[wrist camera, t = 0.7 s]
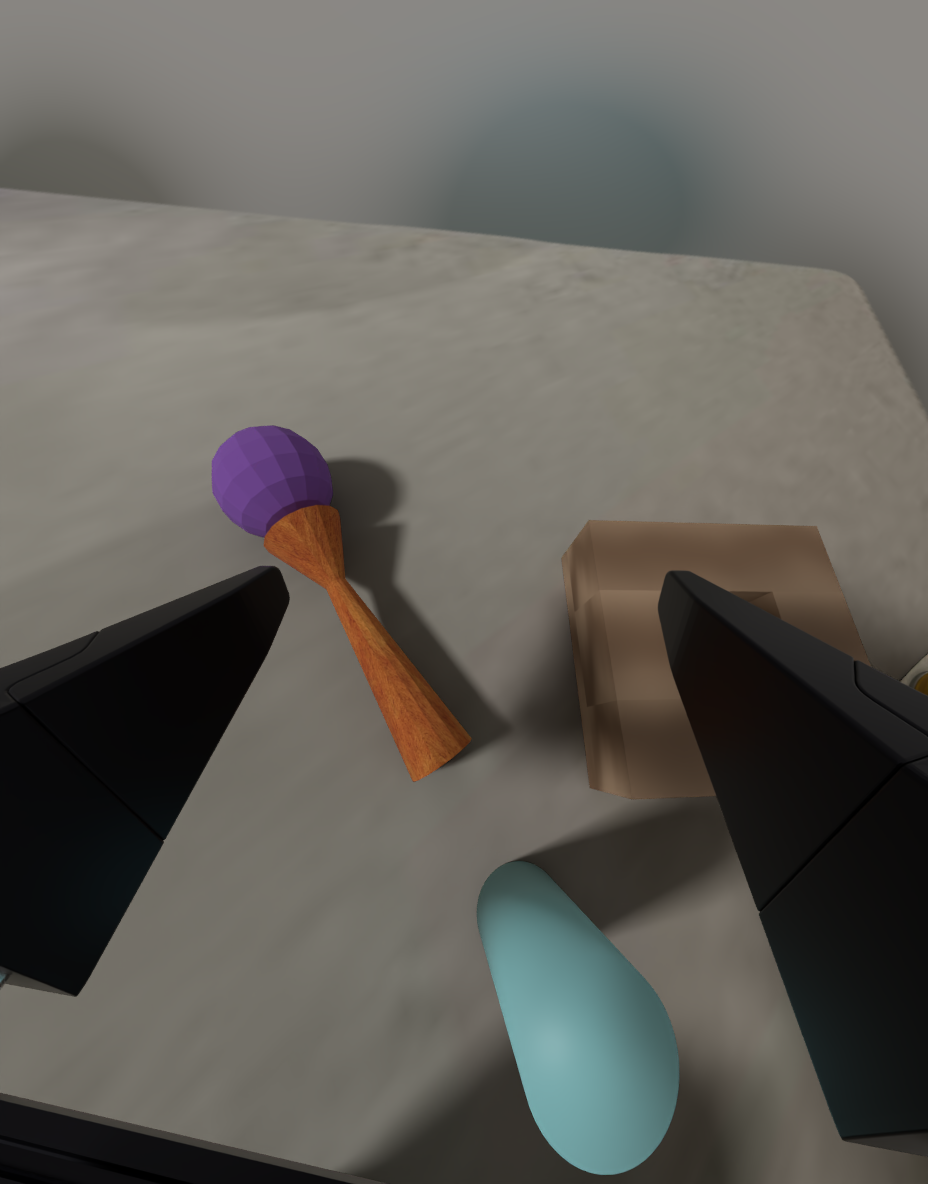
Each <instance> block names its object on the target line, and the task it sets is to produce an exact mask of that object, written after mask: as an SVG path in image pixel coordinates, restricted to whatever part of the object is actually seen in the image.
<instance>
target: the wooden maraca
mask: <svg viewBox="0 0 928 1184" xmlns="http://www.w3.org/2000/svg"><path fill="white" fill-rule="evenodd" d="M212 490H213V494H214V496H215V498H216V500H217V501H218V503H219V505H220V507H221V508H222V510H223V512H224V513H225V514H226V515H227V516H228V517H229V518H230V520H231V521H232V522H234V523H235V524H237V525H238V526H239V527H241V528H242V529H244V530H245V531H247V532H248V533H250V534H254V535H257V536H260V537H264V538H265V539H264V547H265V548H266V549H267V550H268V552H270V553H271V554H273V555H274V556H276V557H277V558H279V559H280V560H282V561H283V562H285V563H287V564H288V565H290V566H291V567H293V568H294V569H296V570H297V571H299V572H300V573H302V574H304V575H305V576H307V577H308V578H310V579H311V580H313V581H314V582H316V583H318V584H319V585H321V586H322V587H324V588H325V589H327V592H328V594H329V596H330V598H331V600H332V603H333V605H334V607H335V609H336V612H337V614H338V616H339V618H340V620H341V623H342V625H343V627H344V629H345V632H346V634H347V636H348V638H349V640H350V643H351V645H352V647H353V649H354V652H355V654H356V656H357V658H358V660H359V663H360V665H361V667H362V669H363V672H364V674H365V676H366V678H367V680H368V683H369V685H370V687H371V689H372V692H373V694H374V696H375V698H376V700H377V703H378V705H379V707H380V709H381V712H382V714H383V716H384V718H385V720H386V723H387V725H388V727H389V729H390V732H391V734H392V736H393V738H394V740H395V743H396V745H397V747H398V749H399V752H400V754H401V756H402V758H403V760H404V763H405V765H406V767H407V769H408V772H409V774H410V776H411V778H412V780H413V782H414V781H417V780H420V779H421V778H423V777H425V776H427V775H429V774H430V773H432V772H433V771H435V770H436V769H438V768H439V767H441V766H442V765H443V764H445V763H446V762H448V761H449V760H450V759H452V758H453V757H454V756H455V755H456V754H458V753H459V752H460V751H461V750H462V749H464V748H465V747H466V746H467V745H468V744H469V743H470V741H471V739H472V738H471V737H470V736H469V735H468V733H467V732H466V731H465V730H464V728H463V727H462V726H461V725H460V723H459V722H458V721H457V719H456V718H455V717H454V716H453V714H452V713H451V712H450V711H449V709H448V708H447V707H446V706H445V704H444V703H443V702H442V700H441V699H440V698H439V697H438V695H437V694H436V693H435V692H434V690H433V689H432V688H431V687H430V685H429V684H428V683H427V682H426V680H425V679H424V678H423V676H422V675H421V674H420V673H419V671H418V670H417V669H416V668H415V666H414V665H413V664H412V663H411V661H410V660H409V659H408V657H407V656H406V655H405V654H404V652H403V651H402V650H401V649H400V647H399V646H398V645H397V644H396V642H395V641H394V640H393V638H392V637H391V636H390V635H389V633H388V632H387V631H386V630H385V628H384V627H383V626H382V625H381V623H380V622H379V621H378V620H377V618H376V617H375V616H374V614H373V613H372V612H371V611H370V609H369V608H368V607H367V606H366V604H365V603H364V602H363V601H362V599H361V598H360V597H359V595H358V594H357V593H356V592H355V590H354V589H353V588H352V587H351V585H350V584H349V583H348V582H347V580H346V579H345V569H344V557H343V545H342V534H341V522H340V516H339V512H338V510H337V509H335V508H333V507H331V506H329V505H330V502H331V499H332V496H333V489H332V480H331V475H330V472H329V468H328V465H327V463H326V462H325V460H324V459H323V457H322V456H321V454H320V452H319V451H318V449H317V448H316V447H314V446H313V445H312V444H311V443H309V442H308V441H307V440H306V439H304V438H303V437H301V436H299V435H298V434H296V433H295V432H293V431H291V430H290V429H286V428H281V427H277V426H259V427H249V428H246V429H243V430H241V431H238V432H236V433H235V434H234V435H233V436H231V437H230V438H229V439H228V440H227V441H225V442H224V443H223V444H222V445H221V446H220V447H219V449H218V451H217V453H216V454H215V456H214V458H213V460H212Z"/></svg>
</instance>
